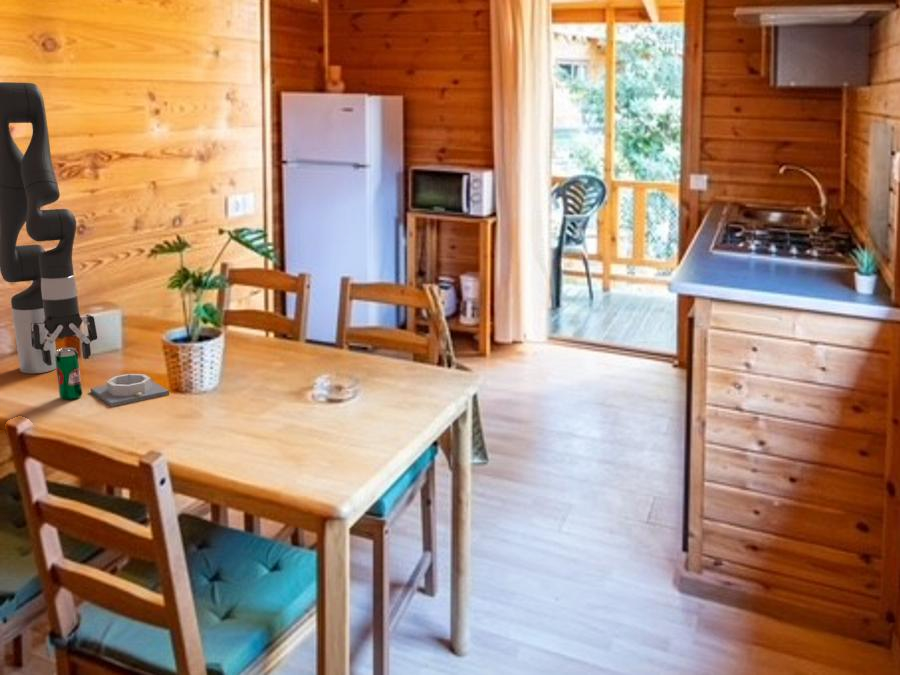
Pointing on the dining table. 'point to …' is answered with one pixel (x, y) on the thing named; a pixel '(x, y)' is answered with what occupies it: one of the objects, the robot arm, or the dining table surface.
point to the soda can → (68, 373)
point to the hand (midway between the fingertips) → (67, 361)
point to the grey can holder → (129, 389)
